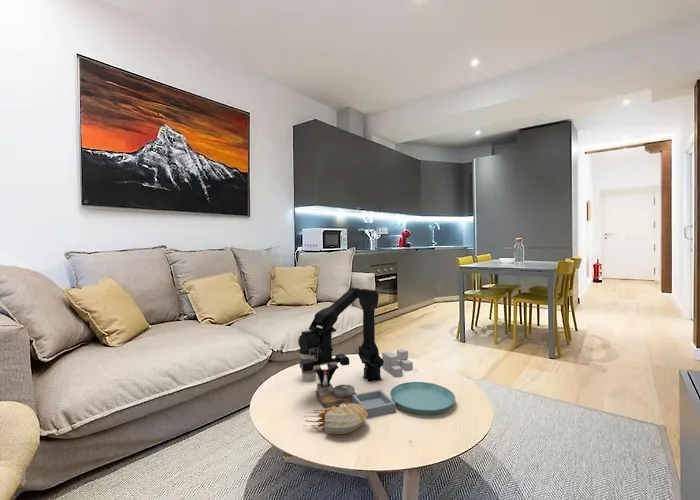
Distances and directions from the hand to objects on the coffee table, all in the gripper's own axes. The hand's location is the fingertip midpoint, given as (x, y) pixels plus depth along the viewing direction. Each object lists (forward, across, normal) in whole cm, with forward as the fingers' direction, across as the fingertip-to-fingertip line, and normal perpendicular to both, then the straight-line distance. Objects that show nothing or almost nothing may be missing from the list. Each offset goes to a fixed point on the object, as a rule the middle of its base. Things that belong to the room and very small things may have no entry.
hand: (324, 383), depth 141 cm
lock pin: (+4, 0, 0) cm, 4 cm away
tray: (+6, -14, +14) cm, 21 cm away
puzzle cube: (+6, -40, -13) cm, 43 cm away
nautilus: (+6, +3, +22) cm, 23 cm away
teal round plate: (+6, -33, +18) cm, 38 cm away
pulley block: (+6, -4, +2) cm, 7 cm away
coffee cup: (+6, +1, -20) cm, 20 cm away
